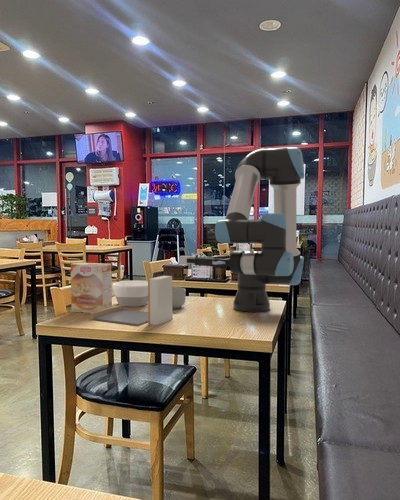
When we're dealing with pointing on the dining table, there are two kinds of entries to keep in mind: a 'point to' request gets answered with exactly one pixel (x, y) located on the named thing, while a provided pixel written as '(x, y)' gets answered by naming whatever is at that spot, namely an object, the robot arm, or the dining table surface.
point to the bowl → (131, 293)
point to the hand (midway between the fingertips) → (180, 259)
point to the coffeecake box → (90, 287)
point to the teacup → (178, 297)
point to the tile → (159, 300)
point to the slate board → (121, 316)
